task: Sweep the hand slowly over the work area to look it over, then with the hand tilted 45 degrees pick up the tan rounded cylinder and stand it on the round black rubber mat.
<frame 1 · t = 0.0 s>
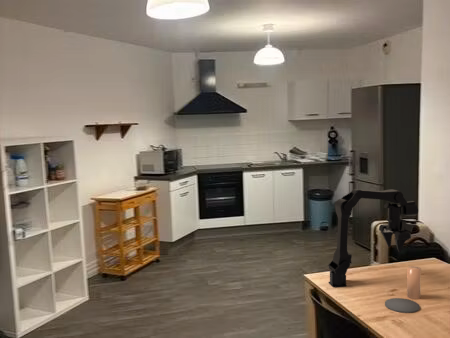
hand: (394, 249, 210), 14 cm above the table, tool pointing down, fingers open, 9 cm apart
mat: (402, 306, 181), on the table
tan rounded cylinder: (413, 296, 190), on the table
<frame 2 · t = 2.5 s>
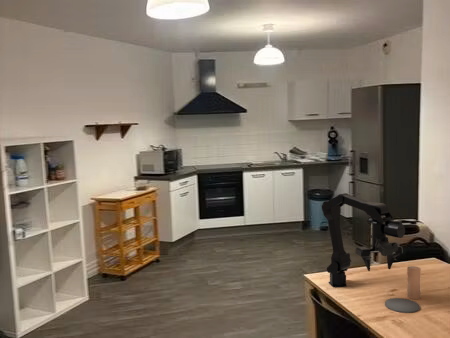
hand: (379, 270, 189), 12 cm above the table, tool pointing down, fingers open, 9 cm apart
nothing on the table moved.
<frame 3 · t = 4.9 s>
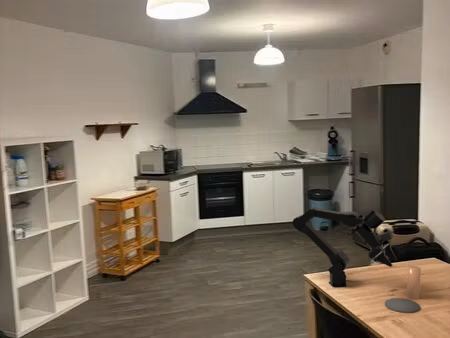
hand: (394, 263, 193), 13 cm above the table, tool tilted 45°, fingers open, 9 cm apart
nothing on the table moved.
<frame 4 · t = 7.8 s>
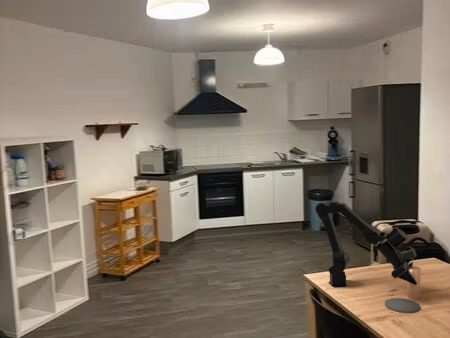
hand: (417, 282, 188), 7 cm above the table, tool tilted 45°, fingers closed on tan rounded cylinder, 5 cm apart
tan rounded cylinder: (413, 296, 190), on the table, touching gripper
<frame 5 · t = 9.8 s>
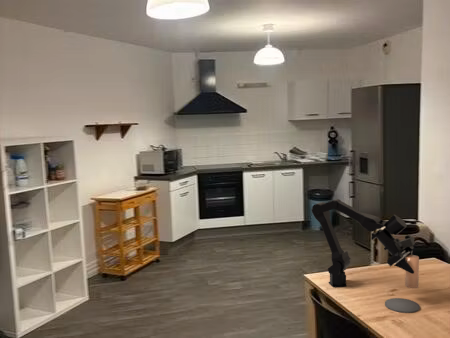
hand: (415, 271, 185), 12 cm above the table, tool tilted 45°, fingers closed on tan rounded cylinder, 5 cm apart
tan rounded cylinder: (411, 285, 186), point 6 cm above the table, touching gripper
when the fingers open (8 cm above the table, at t = 12.1 s): tan rounded cylinder drops 1 cm, resting on mat.
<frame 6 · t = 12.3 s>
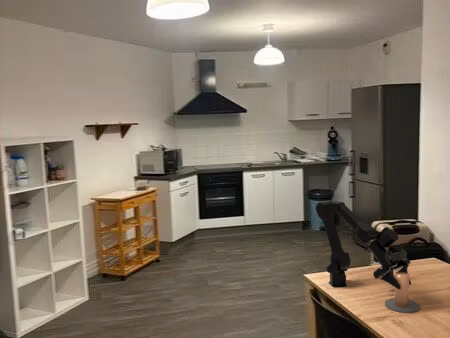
hand: (405, 286, 179), 9 cm above the table, tool tilted 45°, fingers open, 7 cm apart
tan rounded cylinder: (401, 304, 181), point 1 cm above the table, touching mat
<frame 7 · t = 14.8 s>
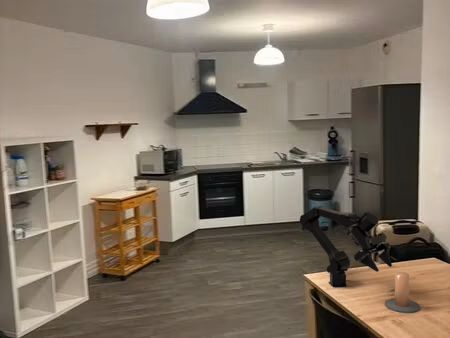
hand: (384, 268, 186), 14 cm above the table, tool tilted 45°, fingers open, 9 cm apart
nothing on the table moved.
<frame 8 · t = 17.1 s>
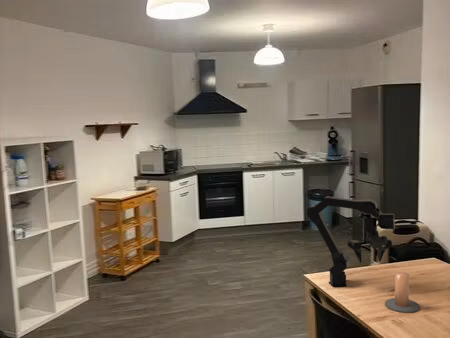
hand: (369, 262, 200), 12 cm above the table, tool pointing down, fingers open, 9 cm apart
nothing on the table moved.
at the end: tan rounded cylinder inside the target area on the mat (0.1 cm from its centre), point 0.8 cm above the mat's base; tan rounded cylinder tilted 0°; the gripper is holding nothing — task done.
